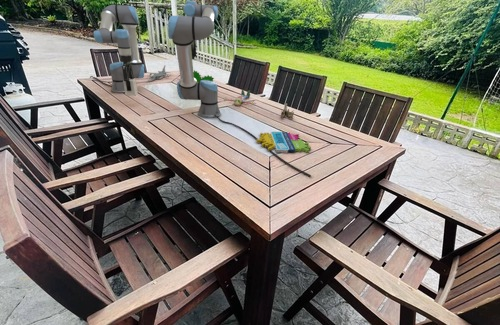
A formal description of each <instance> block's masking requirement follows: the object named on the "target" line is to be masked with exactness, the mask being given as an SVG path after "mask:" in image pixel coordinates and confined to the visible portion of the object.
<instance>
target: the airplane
mask: <svg viewBox="0 0 500 325" xmlns="http://www.w3.org/2000/svg"><path fill="white" fill-rule="evenodd" d="M157 72H158V73H157ZM157 72H145V73H146V74H149V75H148V77H150V78H148V79H147V81H146V83H150V82H152V81H155V80H158V79H159V80H161V79H163V78H169V76H170V75H169V74H171V73H172V72H170V71H166V65H164V66H163V68H162V70H157Z"/></svg>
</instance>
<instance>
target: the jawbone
mask: <svg viewBox="0 0 500 325" xmlns="http://www.w3.org/2000/svg"><path fill="white" fill-rule="evenodd" d="M294 111H295V110H294V109H293V110H292V111H291V112H290V108H288V103H284V107H283V109H281V113H280V119H283V118H284V117H285V116H286V117H287V118H289V120H293V119H294V115H295V114H294Z"/></svg>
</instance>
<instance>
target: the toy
mask: <svg viewBox="0 0 500 325" xmlns="http://www.w3.org/2000/svg"><path fill="white" fill-rule="evenodd" d="M240 92H241V93H240V95H238V96H237V97H235V99H233V98H230V99H228V98H227V97H226V96H225V97H224V98H223V101H224V102H233V103H232V104H233V105H235V106H242V103H243V104H247V105H252V106H255V105H256V104H257V103H256V102H254V101H253V100H252V101H251V102H250V101H248V100H246V99H248V98H250V97H251V90H250V89H249V90H248V91H247V92H246V93H245V91H244V89H242V90H241V91H240Z"/></svg>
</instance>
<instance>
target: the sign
mask: <svg viewBox="0 0 500 325" xmlns="http://www.w3.org/2000/svg"><path fill="white" fill-rule="evenodd" d="M299 136H300V135H299V134H298V133H296V134H294V133H291V132H287V131H270V132H264V133H263V132H260V133H259V138H257V140H256V143H257V144H261V143H260V142H262V144H261V148H263V147H264V145H265V147H264V148H265V149H267V148H266V147H268V149H267V151H268V152H270V151H269V150H271V151H272V150H273V149H275V152H276V153H283V154H285V153H287V154H288V153H290V154H293V153H296V152H298V153H301V152H305V153H310V151H311V150H312V149H311V148H312V146H309V142H304V141H303V139H302V138H299Z"/></svg>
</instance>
